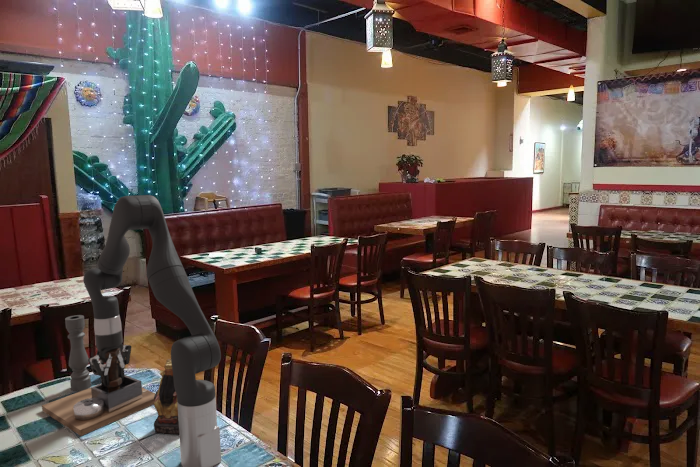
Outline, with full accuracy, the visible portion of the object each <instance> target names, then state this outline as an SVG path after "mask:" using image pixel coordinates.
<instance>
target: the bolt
mask: <svg viewBox="0 0 700 467" xmlns="http://www.w3.org/2000/svg"><path fill="white" fill-rule="evenodd" d="M119 350H120V352H121V349H120V348H117V349H115V350H112V351H110V352H107V353H106V354H105V358H108V356H109V354H110V356H111V357H112V359H111V364H110V367H109V369H108V374H107V375H108V377H109V386H107V387H108V392H109V393H111V392H113V391H116V390H118V389H119V385H120V384H121V383H122V378H121V377H119V376H118V366H117V355H118V354H120V352H119Z"/></svg>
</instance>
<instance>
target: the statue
mask: <svg viewBox="0 0 700 467" xmlns="http://www.w3.org/2000/svg"><path fill="white" fill-rule="evenodd" d="M159 374H160V376H161V378H160V382H159V385H158V389H157V390H156V392H155V396H154V399H155V403H154V404H153V406H154V408H155V410H156V412H157V417H156V418H155V419H154V422H153V430H154V433H155V434H159V435H165V436H166V435H169V436H179V421H178V405H177V395H176V391H175V387H174V379H173V371H172V363H171V358H167V359H166V362H165V365H164V370H163V371H161V372H159Z"/></svg>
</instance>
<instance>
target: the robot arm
mask: <svg viewBox="0 0 700 467" xmlns="http://www.w3.org/2000/svg"><path fill="white" fill-rule="evenodd" d="M129 230H130V231H133V230H134V231H135V230H148V232H149V234H150V238H151V242H152V245H151V246H152V248H151V252H150V255H149V258H148V261H147V264H146V271H145V272H146V277H147V281H148V283H149V286H150V288H151V291H152V294H153V296H154V298H155V299H156V300H157V301H158V302H159V303H160V304H161V305H163V306H164V307H165V308H166V309H167V310H169V311H170V312H171V313H173V314H174V315H175V316H177V317H178V318H180V320H181V321H182V322H183V323H184V325H185V326H186V327H187V330H189V333H190V334H191V335H189V336H186V337H183V338H180V339H177V340H175V341H174V342H173V343H172V345H171V349H170V359H171V363H172V371H173V379H174V387H175V391H176V395H177V405H178V421H179V435H178V436H179V449H180V451H179V452H180V461H181V463H180V464H181V467H214V466H215V467H216V466H217V465H218V464H219V463H221V462H222V448H221V446H222V445H221V432H220V431H221V430H220V426H218V417H217V416H218V415H217V398H216V386H215V384H214V383H213V382H211V381H209V380H206V379H197V377H196V375H197V374H200V373H202V372H204V371H208V370H211V369H212V368H214V367H217V366H218V365H219V364H220V362H221V359H222V352H221V347H220V343H219V342H218V339H217V337H216V335H215V332H214V331H213V329H212V328H211V325H210V323H209V322H208V319H207V318H206V316H205V314H204V312H203V310H202V309H201V306H200V305H199V301H198V300H197V298H196V295H195V293H194V290H193V288H192V285H191V283H190V279H189V277H188V275H187V272H186V271H185V268H184V266H183V264H182V261H181V259H180V257H179V255H178V252H177V250H176V247H175V245H174V242H173V239H172V236H171V233H170V231H169V228H168V224H167V221H166V218H165V214H164V211H163V207H162V206H161V203H160V201H159V200H158V199H157V198H156V197H155V196H153V195H149V194H143V195H140V194H139V195H124V196H120V197H119V198H118V199H117V201H116V203H115V205H114V207H113V211H112V215H111V219H110V223H109V229H108V234H107V238H106V242H105V245H104V247H103V249H102V252H101V253H100V255H99V257H98V261H97V267H94V268H90V269H87V270H86V271H85V272H84V274H83V278H82V279H83V280H82V281H83V284H84V287H85V289H86V291H87V293H88V295H89V299H90V301H91V304H92V308H93V309H92V310H93V317H94V318H93V320H94V321H93V328H94V338H95V346H96V349H97V352H96V355H94V356H93V357H88V358H89V359H88V362H89V363H88V365H89V367H90V368H91V370H92V373H93V374H94V375H96V376H100V384H102V385H103V386H106V387H107V386H109V377H108V375H107V374H108V369H109V367H110V364H111V359H112V357H111V356H110V354H109V356H108V358H105V354H106V353H107V352H110V351H112V350H115V349H117V348H120V349H121V352H120V350H119V352H120V354H118V355H117V366H118V376H119V377H121V378H122V380H123V379H124V375H125V368H126V367H125V366H127V365H129V364H130V360H131V353H132V345H129V344H123V342H124V339H123V330H122V321H121V316H120V306H119V300H118V297H117V296H114V295H103V294H102V291H105V290H106V291H107V290H110V289H115V288H117V287H119V285H121V283H122V282H123V274H124V273H123V271H124V267H125V264H126V263H127V260H128V259H129V256H130V253H131V249H130V245H129V242H128V240H127V238H126V236H125V234H126V233H127V232H128V231H129ZM105 363H106V364H105Z"/></svg>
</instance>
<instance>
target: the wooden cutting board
mask: <svg viewBox="0 0 700 467" xmlns="http://www.w3.org/2000/svg"><path fill="white" fill-rule="evenodd" d="M100 384H101V383H99V384H98V385H100ZM95 386H96V385H95ZM95 386H91V387H90V388H88V389H86V390H83V391H77V392H74V393H73V394H70V395H67V396H64V397H62V398H59V399H57V400H54V401H51V402H47V403H45V404H42V405H41V410H42V412H43V413H45V414H46V415H48V416H50V417H51V418H52V419H53V420H56V422H58V423H60V424H61V425H63V426H64V427H66V428H68V429H69V430H71V431H72V432H74V433H75V434H77V435H78V436H79V437H83V436H84V435H86V434H87V435H88V433H89V434H90V433H91V432H93V431H96V430H98V429H101V428H103V427H105V426H107V425H110V424H112V423H114V422H117V421H119V420H121V419H123V418H126V417H128V416H130V415H133V414H134V413H137V412H138V411H142V410H144V409H145V408H149V407H151V406H154V403H155V399H154V396H155V394H156V392H153V391H150V390H149V389H146V388H144V387H142V398H140V399H138V400H135V401H133V402H131V403H129V404H127V405H124V406H122V407H120V408H118V409H115V410H113V411H111V412H108V411H105V410H104V412H103V413H102V414H101V415H100V416H98V417H95V418H92V419H88V420H77V419H75V417H74V408H73V407H74V405H75V404H76V403H78V402H79V401H82V400H84V399H88V398H92V393H91V388H92V387H95Z"/></svg>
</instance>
